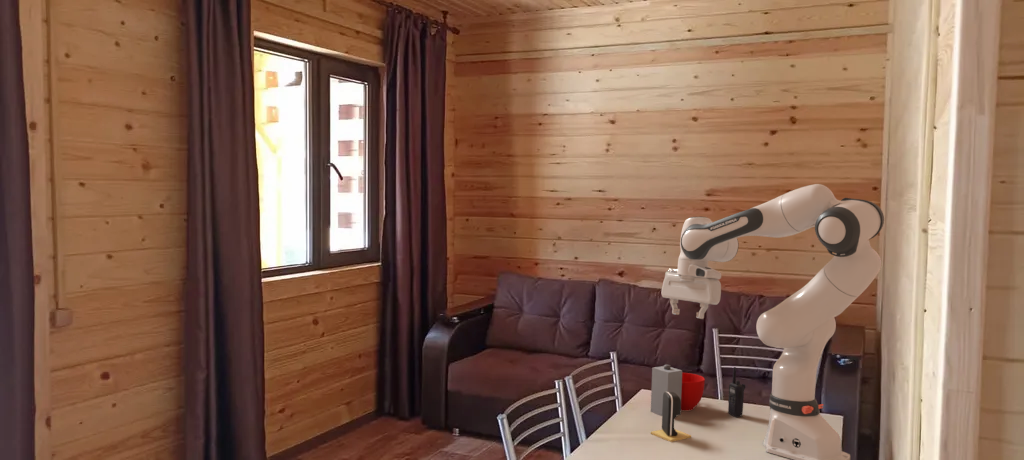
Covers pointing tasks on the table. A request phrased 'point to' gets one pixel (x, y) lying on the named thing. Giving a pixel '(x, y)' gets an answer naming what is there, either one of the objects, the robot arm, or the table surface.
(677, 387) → the gray rectangular box
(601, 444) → the table surface
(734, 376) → the two-way radio
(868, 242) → the robot arm
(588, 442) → the table surface
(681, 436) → the bay mat
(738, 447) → the table surface
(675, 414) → the battery charger
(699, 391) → the ceramic cup
